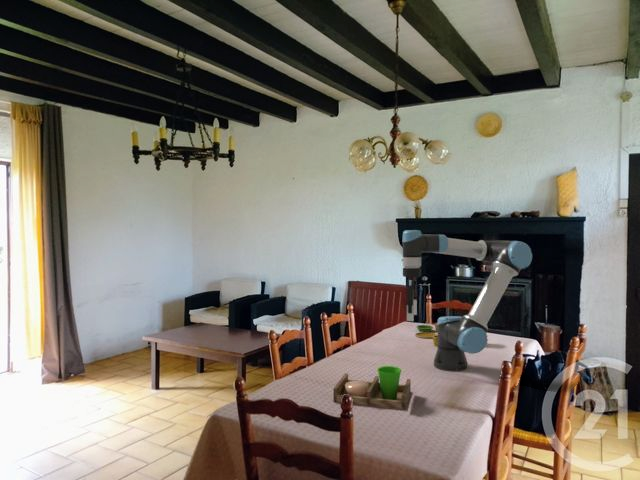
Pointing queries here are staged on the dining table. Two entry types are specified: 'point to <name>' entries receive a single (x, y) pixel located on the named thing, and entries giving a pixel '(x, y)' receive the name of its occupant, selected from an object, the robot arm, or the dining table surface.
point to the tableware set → (424, 333)
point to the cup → (389, 381)
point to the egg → (356, 388)
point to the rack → (374, 394)
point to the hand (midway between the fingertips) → (411, 317)
